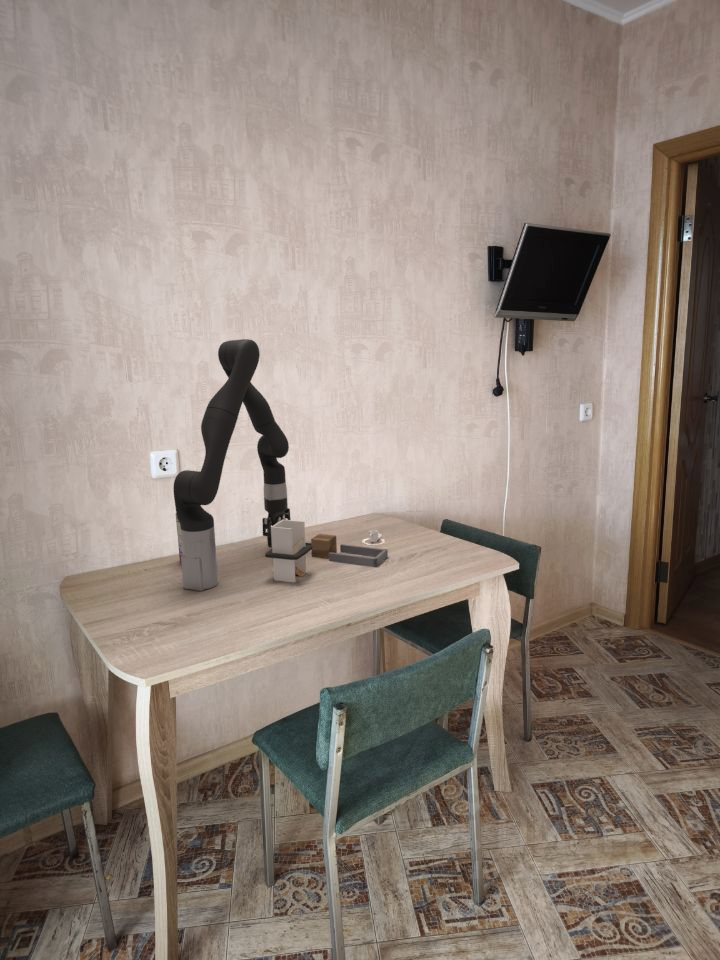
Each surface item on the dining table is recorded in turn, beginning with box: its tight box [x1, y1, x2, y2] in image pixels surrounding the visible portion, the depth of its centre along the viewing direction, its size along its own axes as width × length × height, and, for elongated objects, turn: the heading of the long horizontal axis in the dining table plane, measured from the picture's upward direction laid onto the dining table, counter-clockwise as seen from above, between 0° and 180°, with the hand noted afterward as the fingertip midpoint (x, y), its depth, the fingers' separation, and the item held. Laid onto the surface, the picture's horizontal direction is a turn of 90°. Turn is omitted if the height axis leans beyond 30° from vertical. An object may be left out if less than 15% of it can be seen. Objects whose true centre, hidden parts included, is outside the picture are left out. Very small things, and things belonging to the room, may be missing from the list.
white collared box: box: [264, 519, 312, 583], centre depth 193 cm, size 25×24×16 cm
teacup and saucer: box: [361, 529, 386, 546], centre depth 225 cm, size 9×8×4 cm
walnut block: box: [305, 533, 338, 560], centre depth 215 cm, size 6×20×6 cm, turn 66°
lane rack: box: [328, 543, 389, 568], centre depth 208 cm, size 10×16×2 cm, turn 67°
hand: (277, 543), depth 219 cm, fingers open, 8 cm apart
